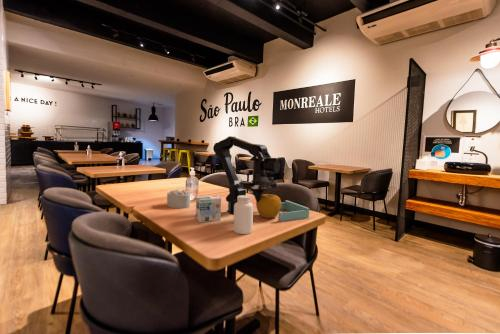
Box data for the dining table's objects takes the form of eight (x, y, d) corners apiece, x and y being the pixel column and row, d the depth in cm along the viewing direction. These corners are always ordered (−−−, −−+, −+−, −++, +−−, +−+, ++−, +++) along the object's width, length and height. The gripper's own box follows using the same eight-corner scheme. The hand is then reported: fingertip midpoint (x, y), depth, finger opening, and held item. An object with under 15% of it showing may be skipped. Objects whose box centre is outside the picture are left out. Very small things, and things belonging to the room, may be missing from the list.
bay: (279, 221, 126) (280, 211, 125) (259, 211, 143) (259, 202, 142) (309, 218, 134) (309, 208, 134) (286, 208, 152) (286, 200, 151)
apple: (251, 214, 138) (252, 192, 136) (273, 212, 143) (274, 191, 142) (262, 221, 126) (263, 197, 125) (285, 219, 131) (287, 196, 130)
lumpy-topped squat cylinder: (178, 202, 157) (179, 188, 156) (194, 206, 149) (194, 191, 149) (164, 205, 148) (164, 190, 147) (180, 209, 141) (180, 193, 140)
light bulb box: (199, 222, 120) (199, 199, 119) (195, 218, 126) (195, 196, 125) (221, 220, 125) (221, 198, 124) (216, 216, 131) (216, 195, 130)
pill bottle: (233, 228, 114) (234, 194, 113) (251, 228, 115) (252, 194, 114) (233, 234, 106) (234, 198, 105) (253, 234, 107) (254, 198, 106)
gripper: (249, 172, 117) (248, 207, 119) (284, 172, 126) (282, 204, 127) (238, 170, 127) (237, 201, 129) (271, 169, 136) (270, 199, 137)
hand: (257, 201), depth 130 cm, fingers closed
